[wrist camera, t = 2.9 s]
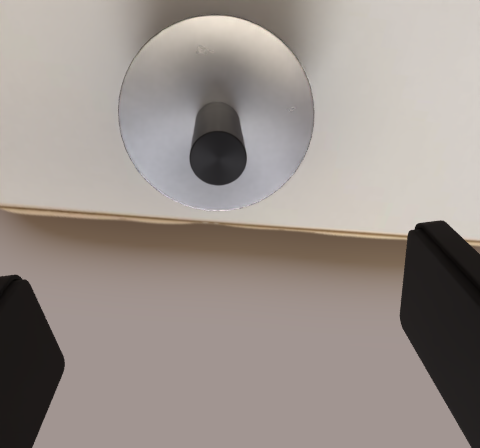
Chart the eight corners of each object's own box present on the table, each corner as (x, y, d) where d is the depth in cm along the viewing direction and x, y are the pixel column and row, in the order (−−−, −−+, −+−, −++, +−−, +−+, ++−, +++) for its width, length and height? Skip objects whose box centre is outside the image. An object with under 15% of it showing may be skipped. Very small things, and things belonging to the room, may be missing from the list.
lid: (120, 194, 28) (91, 252, 22) (122, -3, 22) (83, -6, 16) (289, 213, 30) (310, 273, 23) (331, 32, 24) (376, 43, 17)
